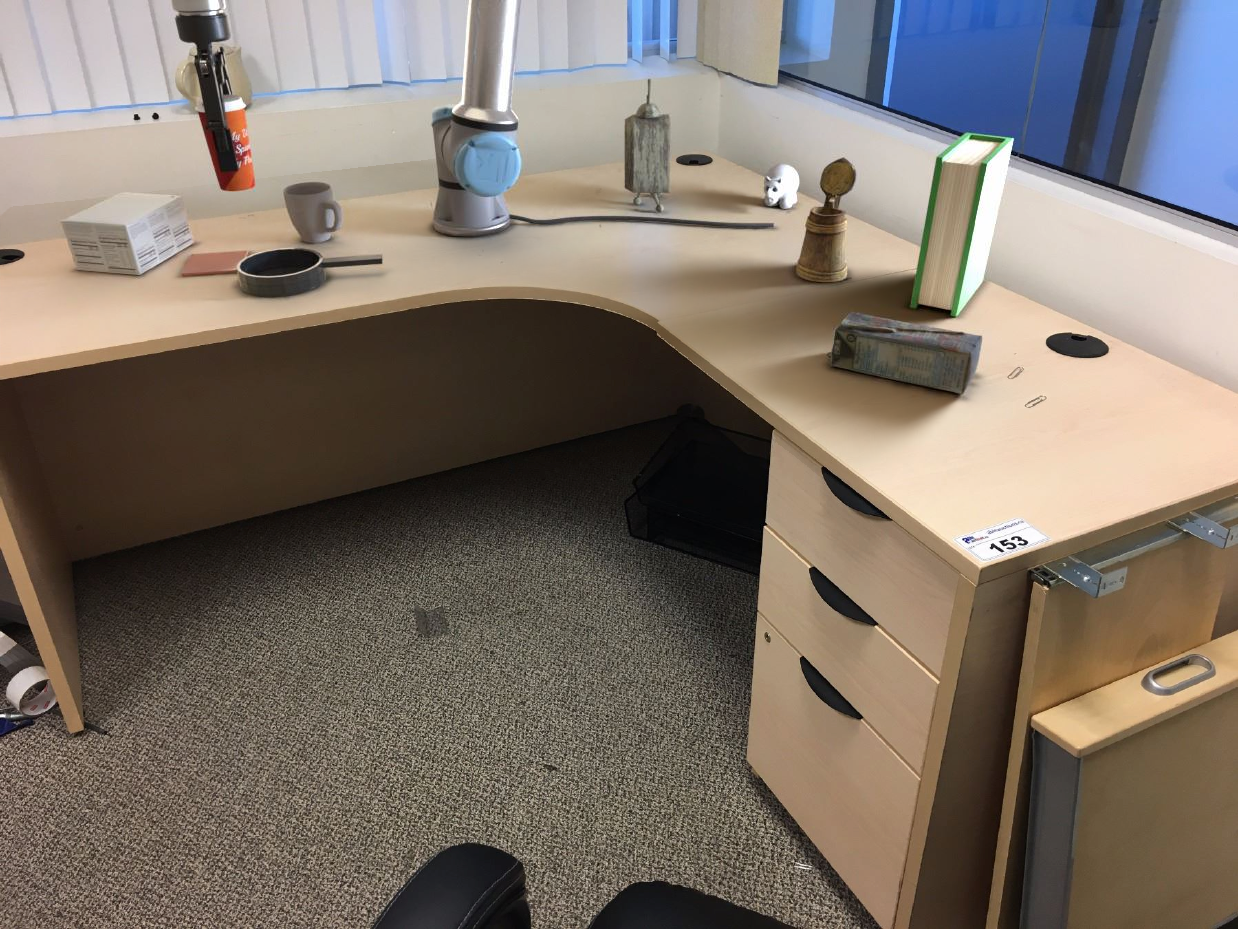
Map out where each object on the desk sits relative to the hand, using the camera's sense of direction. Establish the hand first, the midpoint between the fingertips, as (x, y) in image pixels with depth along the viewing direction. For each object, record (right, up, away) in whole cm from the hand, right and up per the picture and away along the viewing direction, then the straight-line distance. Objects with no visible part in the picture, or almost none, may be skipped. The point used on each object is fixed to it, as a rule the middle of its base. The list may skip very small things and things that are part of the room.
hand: (233, 163), depth 155 cm
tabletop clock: (+70, +5, +44) cm, 83 cm away
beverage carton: (+104, -37, -22) cm, 112 cm away
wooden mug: (+100, -15, +12) cm, 102 cm away
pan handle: (+17, -15, +9) cm, 24 cm away
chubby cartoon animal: (+97, +4, +42) cm, 105 cm away
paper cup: (0, -3, +2) cm, 4 cm away
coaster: (-9, -13, +15) cm, 22 cm away
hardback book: (+119, -21, +2) cm, 121 cm away
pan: (+6, -18, +8) cm, 20 cm away
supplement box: (-25, -11, +19) cm, 33 cm away
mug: (+7, -6, +26) cm, 28 cm away
